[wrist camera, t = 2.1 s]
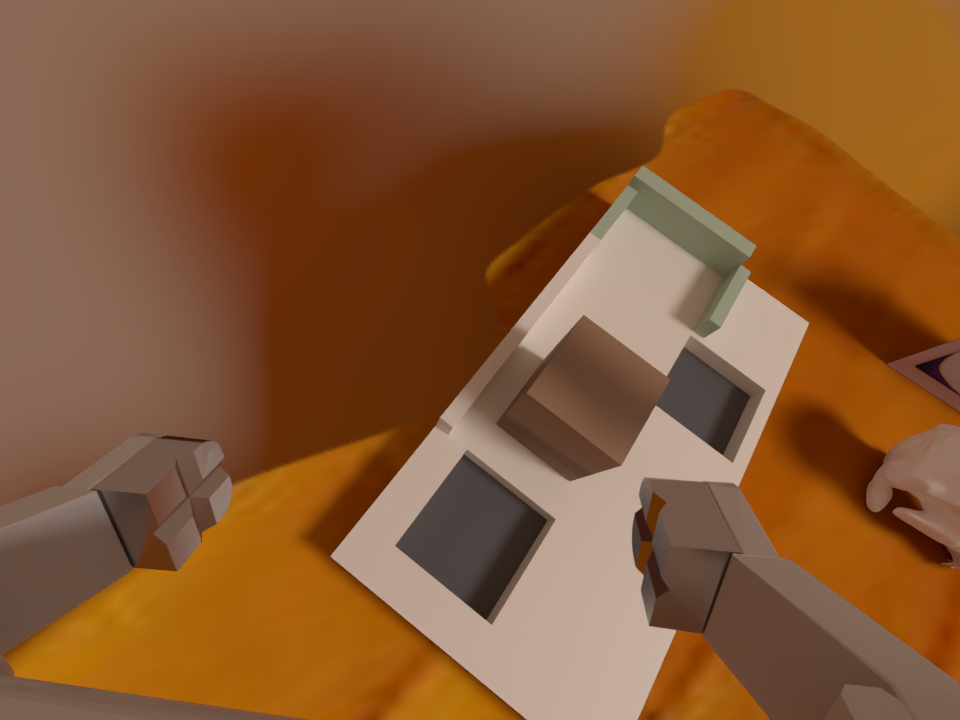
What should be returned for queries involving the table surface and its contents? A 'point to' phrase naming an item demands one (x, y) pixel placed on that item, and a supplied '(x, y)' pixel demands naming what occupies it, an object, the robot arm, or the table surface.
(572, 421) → the walnut block
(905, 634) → the table surface
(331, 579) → the table surface
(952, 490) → the white animal figurine
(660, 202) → the box
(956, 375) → the greeting card
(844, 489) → the table surface
